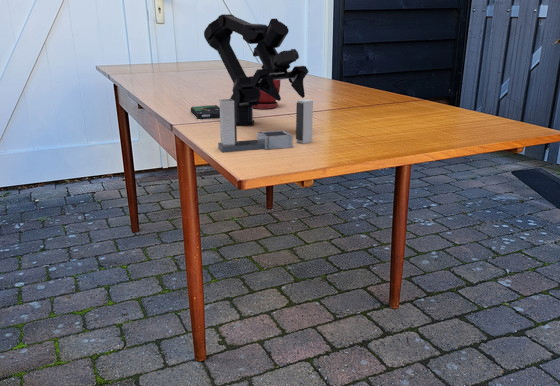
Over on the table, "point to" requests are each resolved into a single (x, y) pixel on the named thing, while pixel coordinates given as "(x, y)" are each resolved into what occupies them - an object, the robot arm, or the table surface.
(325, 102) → the table surface
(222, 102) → the grey l-shaped stand
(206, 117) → the disk drive
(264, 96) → the plant pot
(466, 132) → the table surface
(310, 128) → the tall grey pillar
